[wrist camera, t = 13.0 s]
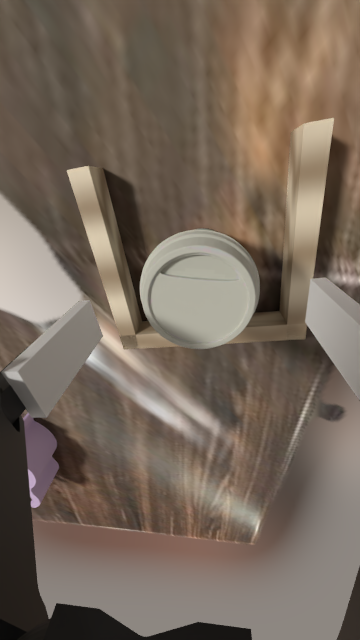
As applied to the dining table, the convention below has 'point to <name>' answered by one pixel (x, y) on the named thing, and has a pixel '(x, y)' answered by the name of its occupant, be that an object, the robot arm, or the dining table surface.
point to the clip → (39, 458)
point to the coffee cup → (199, 288)
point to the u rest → (298, 249)
